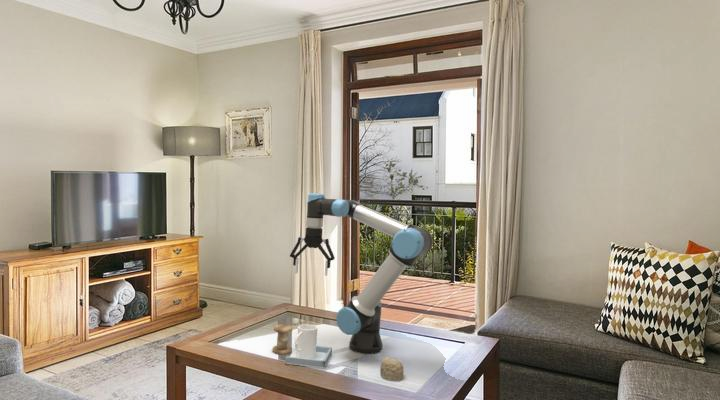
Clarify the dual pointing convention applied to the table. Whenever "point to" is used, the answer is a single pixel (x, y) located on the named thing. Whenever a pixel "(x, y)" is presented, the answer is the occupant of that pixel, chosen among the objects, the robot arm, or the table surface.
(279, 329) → the bobbin
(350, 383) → the table surface
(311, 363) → the blue-grey square tray
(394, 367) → the sponge
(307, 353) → the mug
